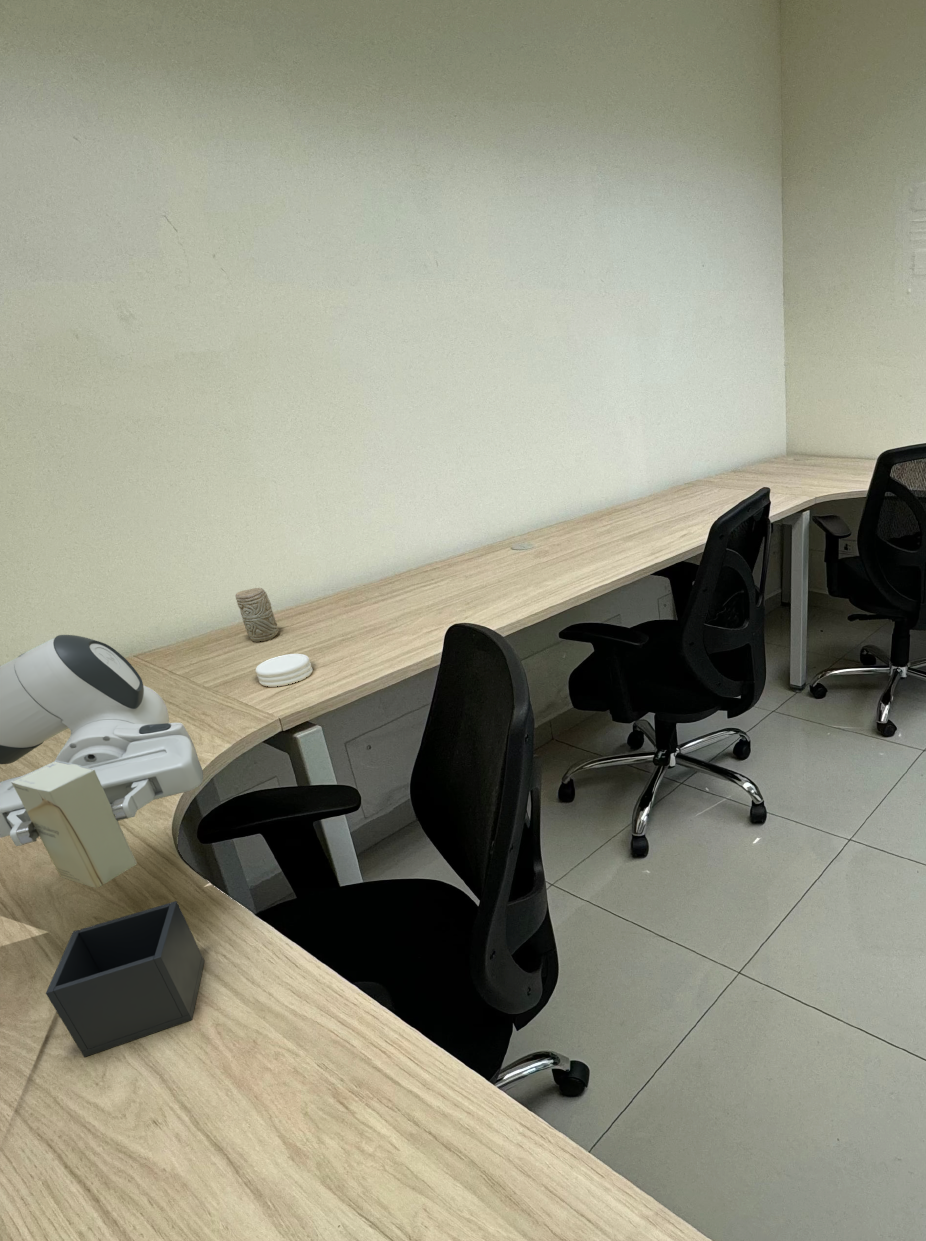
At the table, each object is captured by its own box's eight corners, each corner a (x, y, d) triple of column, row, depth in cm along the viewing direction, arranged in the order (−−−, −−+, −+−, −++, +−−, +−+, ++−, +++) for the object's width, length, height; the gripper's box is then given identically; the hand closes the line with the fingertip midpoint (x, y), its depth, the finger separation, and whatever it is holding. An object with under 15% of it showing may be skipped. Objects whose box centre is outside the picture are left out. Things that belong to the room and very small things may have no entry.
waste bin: (83, 1057, 75) (45, 993, 71) (106, 992, 83) (72, 931, 79) (192, 1020, 79) (160, 956, 75) (204, 960, 86) (176, 900, 82)
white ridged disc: (310, 663, 165) (306, 648, 164) (315, 678, 158) (311, 663, 156) (258, 676, 160) (253, 661, 159) (261, 692, 153) (255, 676, 151)
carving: (245, 645, 178) (228, 597, 173) (256, 634, 184) (240, 587, 179) (274, 641, 179) (258, 594, 174) (284, 630, 185) (269, 584, 180)
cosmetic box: (59, 878, 80) (5, 782, 75) (103, 852, 84) (55, 758, 78) (98, 890, 78) (46, 791, 73) (142, 862, 81) (95, 767, 76)
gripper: (-20, 765, 83) (-75, 832, 72) (197, 718, 91) (178, 772, 80) (6, 812, 86) (-43, 884, 74) (215, 763, 94) (199, 821, 82)
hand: (73, 825), depth 77 cm, fingers closed on cosmetic box, 7 cm apart
